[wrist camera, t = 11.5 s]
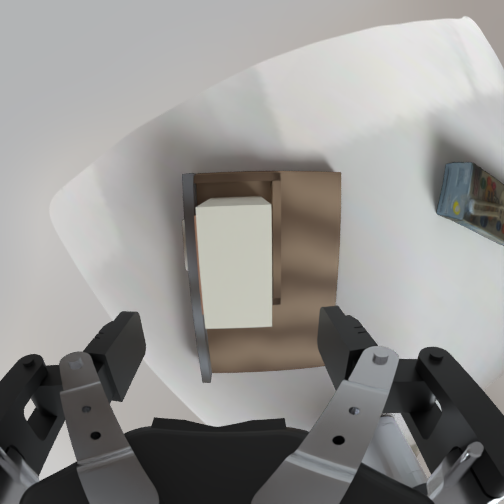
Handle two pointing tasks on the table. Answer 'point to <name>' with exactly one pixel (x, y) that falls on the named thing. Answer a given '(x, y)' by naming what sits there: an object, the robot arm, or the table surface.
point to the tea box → (235, 261)
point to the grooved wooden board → (273, 268)
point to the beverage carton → (473, 200)
